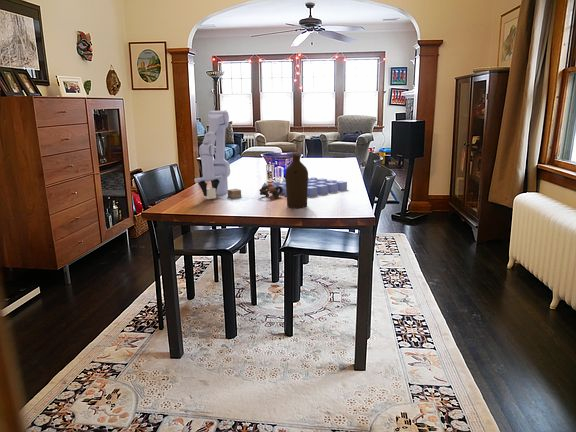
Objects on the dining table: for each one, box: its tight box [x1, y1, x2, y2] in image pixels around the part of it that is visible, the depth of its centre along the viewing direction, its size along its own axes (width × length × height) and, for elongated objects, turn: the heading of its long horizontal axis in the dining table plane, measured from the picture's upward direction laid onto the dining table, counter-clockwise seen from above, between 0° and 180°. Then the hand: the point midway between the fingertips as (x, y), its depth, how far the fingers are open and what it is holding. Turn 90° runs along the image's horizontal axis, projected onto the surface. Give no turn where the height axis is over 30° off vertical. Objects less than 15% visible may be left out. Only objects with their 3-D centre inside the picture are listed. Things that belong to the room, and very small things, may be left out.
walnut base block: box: [227, 188, 242, 199], centre depth 231 cm, size 5×5×4 cm
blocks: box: [261, 176, 348, 198], centre depth 249 cm, size 35×34×5 cm
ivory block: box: [203, 186, 217, 200], centre depth 227 cm, size 4×4×5 cm
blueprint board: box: [216, 194, 254, 203], centre depth 231 cm, size 18×12×1 cm, turn 37°
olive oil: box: [284, 152, 309, 209], centre depth 207 cm, size 11×11×25 cm
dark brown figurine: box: [259, 183, 283, 201], centre depth 229 cm, size 12×10×8 cm
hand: (209, 195), depth 227 cm, fingers closed on ivory block, 4 cm apart
